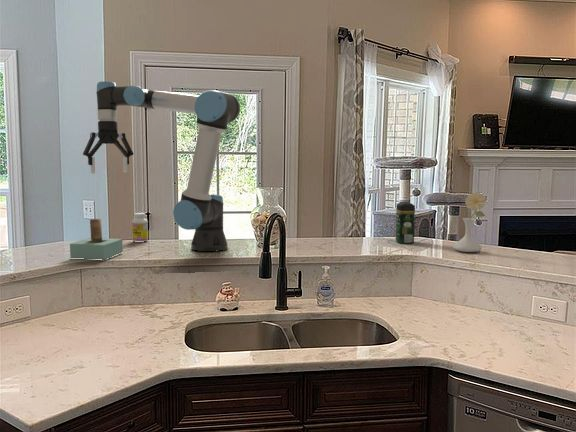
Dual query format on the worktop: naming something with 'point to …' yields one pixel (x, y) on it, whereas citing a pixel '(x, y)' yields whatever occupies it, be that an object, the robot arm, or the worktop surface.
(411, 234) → the coffee jar
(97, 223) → the dowel
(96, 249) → the socket block
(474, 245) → the flower in vase
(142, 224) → the supplement bottle
